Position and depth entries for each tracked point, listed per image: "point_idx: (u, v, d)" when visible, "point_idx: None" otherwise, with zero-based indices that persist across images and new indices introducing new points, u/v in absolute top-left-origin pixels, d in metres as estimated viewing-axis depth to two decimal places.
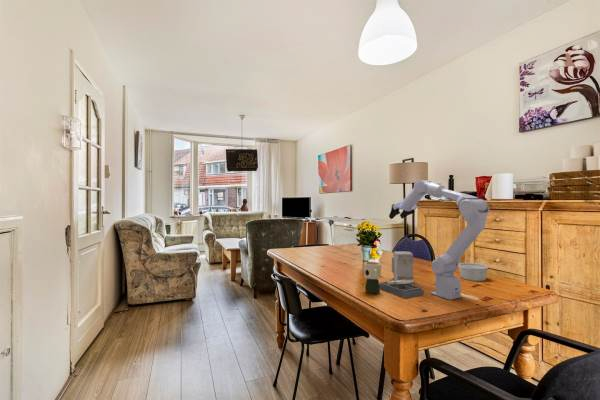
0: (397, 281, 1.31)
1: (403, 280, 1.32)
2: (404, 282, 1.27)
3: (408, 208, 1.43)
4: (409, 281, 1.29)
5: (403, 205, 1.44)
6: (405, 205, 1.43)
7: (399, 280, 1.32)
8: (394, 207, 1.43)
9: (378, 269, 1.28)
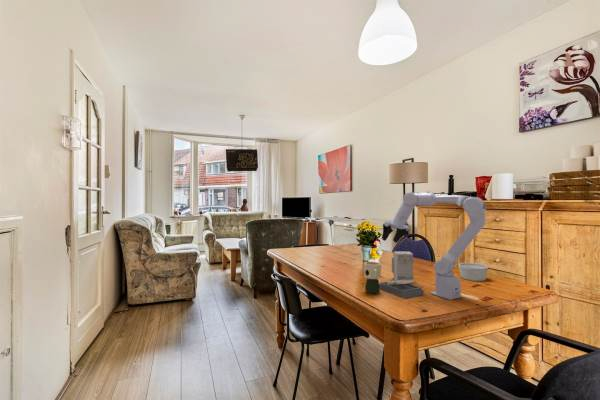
0: (397, 281, 1.31)
1: (403, 280, 1.32)
2: (404, 282, 1.27)
3: (400, 225, 1.37)
4: (409, 281, 1.29)
5: (394, 222, 1.38)
6: (396, 221, 1.38)
7: (399, 280, 1.32)
8: (386, 224, 1.37)
9: (378, 269, 1.28)
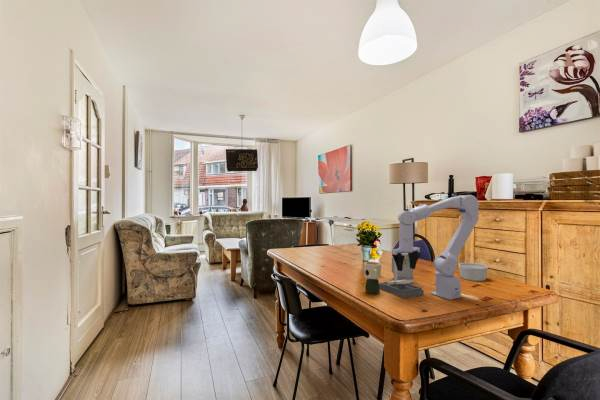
0: (397, 281, 1.31)
1: (403, 280, 1.32)
2: (404, 282, 1.27)
3: (409, 247, 1.27)
4: (409, 281, 1.29)
5: (402, 247, 1.28)
6: (403, 246, 1.27)
7: (399, 280, 1.32)
8: (394, 252, 1.26)
9: (378, 269, 1.28)
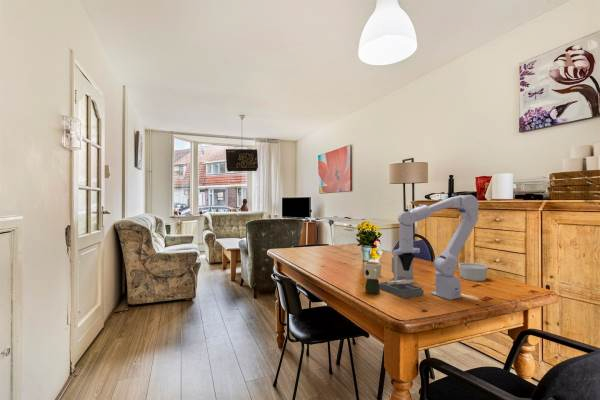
0: (397, 281, 1.31)
1: (403, 280, 1.32)
2: (404, 282, 1.27)
3: (409, 248, 1.27)
4: (409, 281, 1.29)
5: (402, 248, 1.28)
6: (404, 246, 1.27)
7: (399, 280, 1.32)
8: (394, 253, 1.26)
9: (378, 269, 1.28)
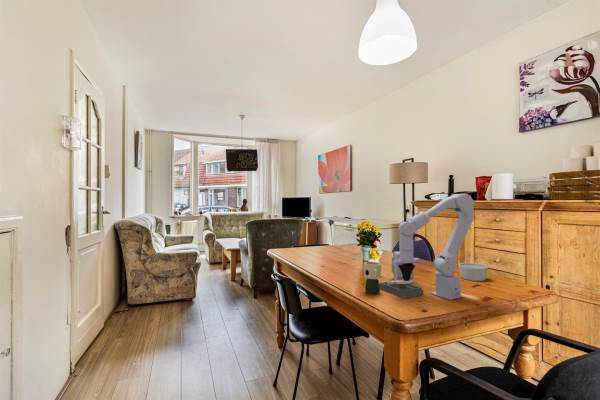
0: (397, 281, 1.31)
1: (403, 280, 1.32)
2: (404, 282, 1.27)
3: (409, 258, 1.27)
4: (409, 281, 1.29)
5: (402, 258, 1.28)
6: (404, 257, 1.27)
7: (399, 280, 1.32)
8: (394, 263, 1.26)
9: (378, 269, 1.28)
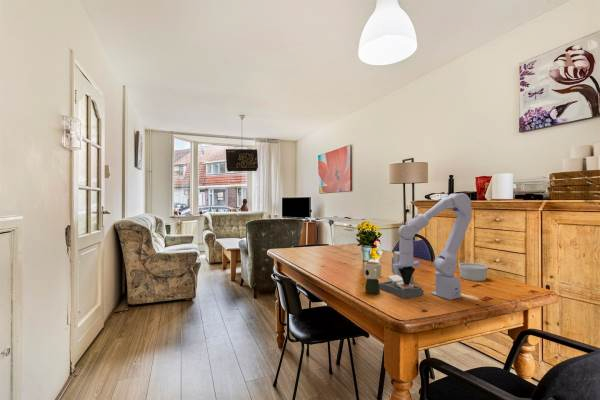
0: (397, 282, 1.31)
1: None
2: (404, 288, 1.27)
3: (409, 262, 1.27)
4: (409, 287, 1.29)
5: (402, 262, 1.28)
6: (404, 260, 1.27)
7: (400, 281, 1.32)
8: (394, 267, 1.26)
9: (378, 269, 1.28)
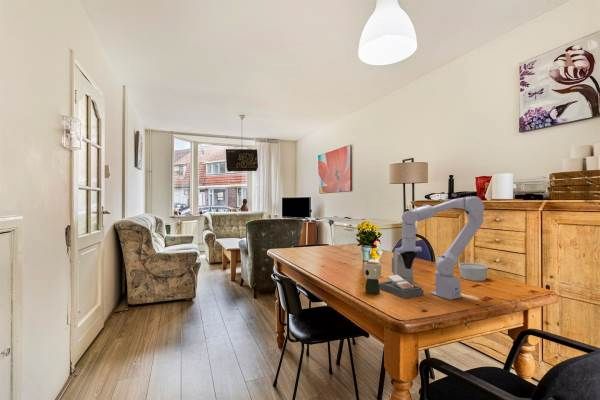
0: (397, 282, 1.31)
1: (403, 281, 1.32)
2: (404, 288, 1.27)
3: (411, 246, 1.29)
4: (409, 287, 1.29)
5: (404, 246, 1.30)
6: (406, 245, 1.30)
7: (400, 281, 1.32)
8: (396, 251, 1.28)
9: (378, 269, 1.28)
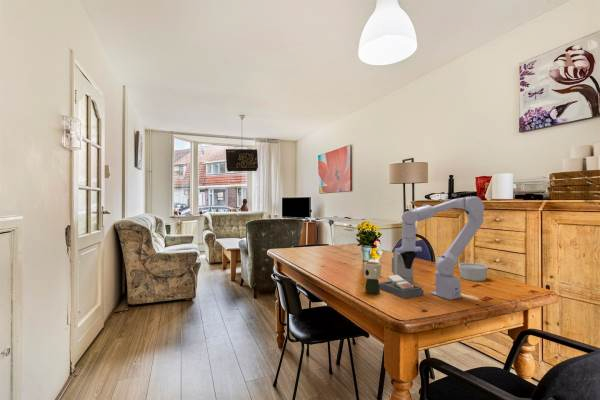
0: (397, 282, 1.31)
1: (403, 281, 1.32)
2: (404, 288, 1.27)
3: (411, 246, 1.29)
4: (409, 287, 1.29)
5: (404, 246, 1.30)
6: (406, 245, 1.30)
7: (400, 281, 1.32)
8: (396, 251, 1.28)
9: (378, 269, 1.28)
